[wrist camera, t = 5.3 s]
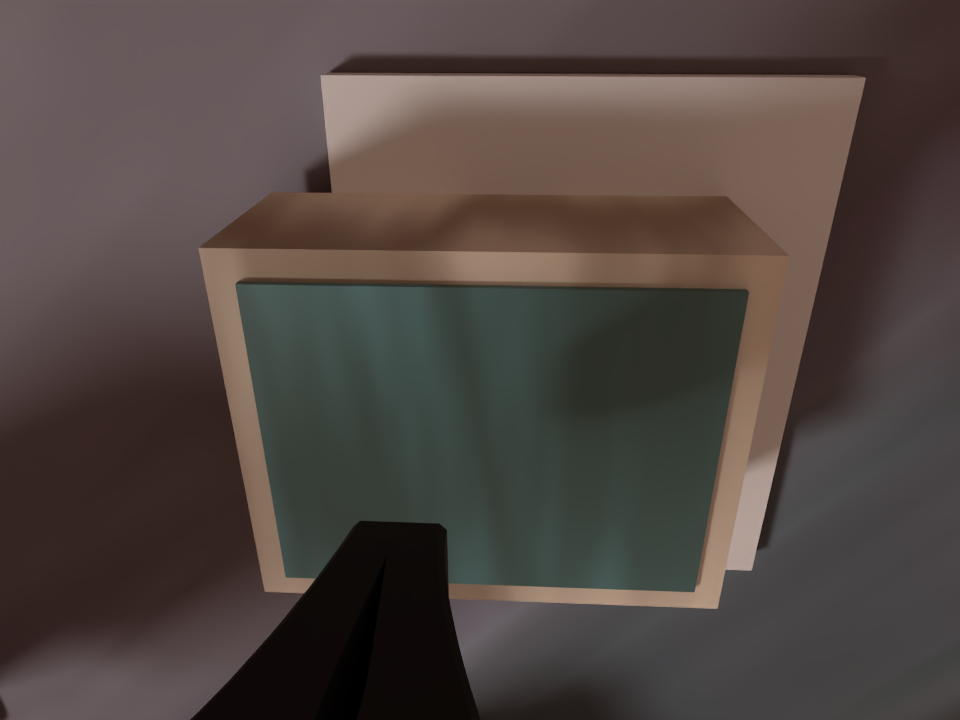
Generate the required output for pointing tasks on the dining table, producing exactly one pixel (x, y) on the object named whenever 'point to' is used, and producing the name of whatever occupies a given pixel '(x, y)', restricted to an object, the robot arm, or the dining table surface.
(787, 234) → the beige mat
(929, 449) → the dining table surface
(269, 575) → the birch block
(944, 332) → the dining table surface
